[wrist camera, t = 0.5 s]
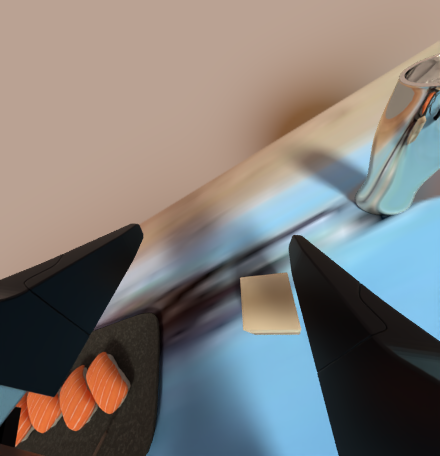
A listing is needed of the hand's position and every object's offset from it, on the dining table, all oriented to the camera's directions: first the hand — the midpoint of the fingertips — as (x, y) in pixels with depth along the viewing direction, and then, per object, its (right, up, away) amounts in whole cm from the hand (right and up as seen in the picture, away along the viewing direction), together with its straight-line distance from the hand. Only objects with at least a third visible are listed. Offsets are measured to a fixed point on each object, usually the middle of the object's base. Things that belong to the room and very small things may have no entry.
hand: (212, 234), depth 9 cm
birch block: (+7, -10, +11) cm, 16 cm away
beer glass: (+24, +4, +14) cm, 29 cm away
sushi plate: (-18, -29, +9) cm, 36 cm away
